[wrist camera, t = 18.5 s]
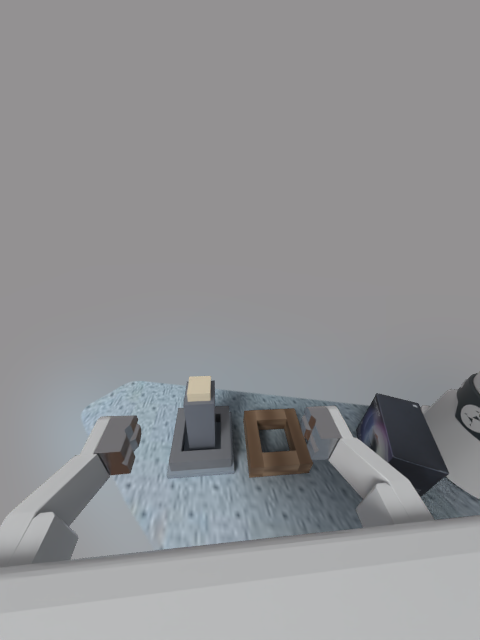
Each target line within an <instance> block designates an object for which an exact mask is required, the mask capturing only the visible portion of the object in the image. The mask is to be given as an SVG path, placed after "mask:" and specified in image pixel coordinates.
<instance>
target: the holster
mask: <svg viewBox="0 0 480 640" xmlns="http://www.w3.org/2000/svg"><path fill="white" fill-rule="evenodd" d="M243 422H244V432H245V441H246V450H247V459H248V469H249V478H250V477H263V476H276V475H289V474H301V473H309V471H310V469H311V467H312V465H313V462H312V460H311V457H310V454H309V451H308V448H307V444H306V441H305V439H304V437H303V434H302V430H301V427H300V424H299V421H298V418H297V415H296V412H295V409H294V408H293V409H272V410H251V411H244V419H243ZM268 429H284V430H285V434H286V438H287V441H288V445H289V449H290V451H280V452H265V453H262V449H261V443H260V437H259V431H258V430H268Z"/></svg>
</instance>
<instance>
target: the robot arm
mask: <svg viewBox="0 0 480 640" xmlns="http://www.w3.org/2000/svg"><path fill="white" fill-rule="evenodd" d="M420 408H421V410H422V413H423V415H424V417H425V419H426V422H427V424H428V426H429V428H430V431H431V433H432V435H433V437H434V440H435V442H436V444H437V446H438V449H439V451H440V453H441V455H442V458H443V460H444V462H445V465H446V467H447V469H448V471H449V475H447V476H446V477H447V478H448V479H449V480H451V481H452V482H453V483H454V484H456V485H457V486H458V487H460V488H461V489H463V490H464V491H466V492H467V493H469V494H471V495H472V496H474V497H476V498H478V499H480V372H479V373H476V374H473V375H471V376H470V377H469V378H468V379H467V380H465V381H464V382H463V384H462V385H461V387H460V388H459V389H458V390H452V389H450V390H448V391H446V393H444V394H443V395H442V396H441V397H440V398H439V399H438V400H437V401H436V402H435V403H434V404H433V405H432V406H426V405H424V406H422V407H420ZM304 414H305V415H304V416H303V417H302V418H301V430H302V434H303V437H304V438H306V439H307V440H308V443H307V448H308V451H309V454H310V457H311V460H327V459H329V461H330V463H331V464H332V465H333V466H334V467H335V468H336V469H337V470H338V472H339V473H340V474H341V475H342V476H343V477H344V478H345V479H346V481H347V482H348V483H349V484H350V485H351V486H352V487H353V488H354V490H355V491H356V492H357V493H358V494H359V495H360V496H361V497H362V499H363V500H362V501H361V503H360V504H359V505H358V506H357V508H356V512H357V514H358V517H359V519H360V522H361V524H362V526H363V528H357V529H348V530H339V531H330V532H321V533H311V534H302V535H293V536H284V537H275V538H265V539H256V540H247V541H238V542H229V543H220V544H210V545H201V546H192V547H183V548H174V549H164V550H155V551H147V552H137V553H128V554H119V555H109V556H100V557H91V558H82V559H74V560H70V559H71V556H72V553H73V551H74V548H75V546H76V543H77V541H78V535H77V534H76V533H75V532H74V531H73V530H72V529H71V528H70V527H69V526H70V524H71V523H72V522H73V521H74V520H75V518H76V517H77V516H78V515H79V514H80V512H81V511H82V510H83V509H84V508H85V506H86V505H87V504H88V503H89V502H90V500H91V499H92V498H93V497H94V495H95V494H96V493H97V492H98V491H99V489H100V488H101V487H102V486H103V485H104V483H105V482H106V481H107V480H108V478H109V477H110V476H109V475H119V474H129V473H131V470H132V466H133V463H134V460H135V455H134V451H135V450H136V449H137V448H138V447H139V443H140V439H141V427H140V425H139V424H137V422H138V418H137V416H136V415H135V416H106V417H100V418H99V419H98V420H97V422H96V424H95V426H94V428H93V430H92V432H91V434H90V435H89V437H88V439H87V441H86V443H85V445H84V447H83V449H82V451H81V453H80V455H76V456H74V457H73V458H72V459H71V460H70V461H69V462H67V463H66V464H65V465H64V466H63V467H62V468H61V469H59V470H58V471H57V472H56V473H55V474H54V475H53V476H51V477H50V478H49V479H48V480H47V481H46V482H45V483H44V484H42V485H41V486H40V487H39V488H38V489H37V490H35V491H34V492H33V493H32V494H31V495H30V496H29V497H27V498H26V499H25V500H24V501H23V502H22V503H20V504H19V505H18V506H17V507H16V508H15V509H14V510H13V511H11V512H10V513H9V514H8V515H7V517H6V518H5V520H4V522H3V523H2V525H1V526H0V640H480V515H477V516H467V517H458V518H449V519H440V520H435V519H434V518H433V516H432V515H431V513H430V512H429V510H428V509H427V507H426V505H425V504H424V502H423V501H422V499H421V498H420V496H419V495H418V493H417V492H416V490H415V489H414V487H413V485H412V484H411V482H410V481H409V480H408V479H407V478H406V477H405V476H403V475H402V474H401V473H400V472H398V471H397V470H396V469H395V468H394V467H392V466H391V465H390V464H389V463H387V462H386V461H385V460H384V459H382V458H381V457H380V456H379V455H378V454H376V453H375V452H374V451H373V450H371V449H370V448H369V447H368V446H366V445H365V444H364V443H363V442H362V441H360V440H359V439H358V438H354V437H353V435H352V433H351V432H350V430H349V428H348V426H347V424H346V423H345V421H344V419H343V417H342V415H341V413H340V412H339V410H338V408H337V407H336V406H318V407H306V408H305V409H304Z"/></svg>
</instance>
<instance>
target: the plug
mask: <svg viewBox="0 0 480 640" xmlns="http://www.w3.org/2000/svg"><path fill="white" fill-rule="evenodd" d="M183 406H184V413H185V420H186V427H187V434H188V441H189V448H190V451H196V450H211V449H215V382H214V381H211V376H199V377H189V382H187V386H186V392H185V398H184V405H183Z"/></svg>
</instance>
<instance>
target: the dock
mask: <svg viewBox="0 0 480 640" xmlns="http://www.w3.org/2000/svg"><path fill="white" fill-rule="evenodd" d="M221 474H234V455H233V438H232V420H231V412H229V406H216V407H215V449H211V450H196V451H190V448H189V441H188V434H187V427H186V420H185V413H184V408H178V414H177V419H176V425H175V431H174V436H173V442H172V448H171V453H170V459H169V466H168V471H167V478H181V477H194V476H208V475H221Z"/></svg>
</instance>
